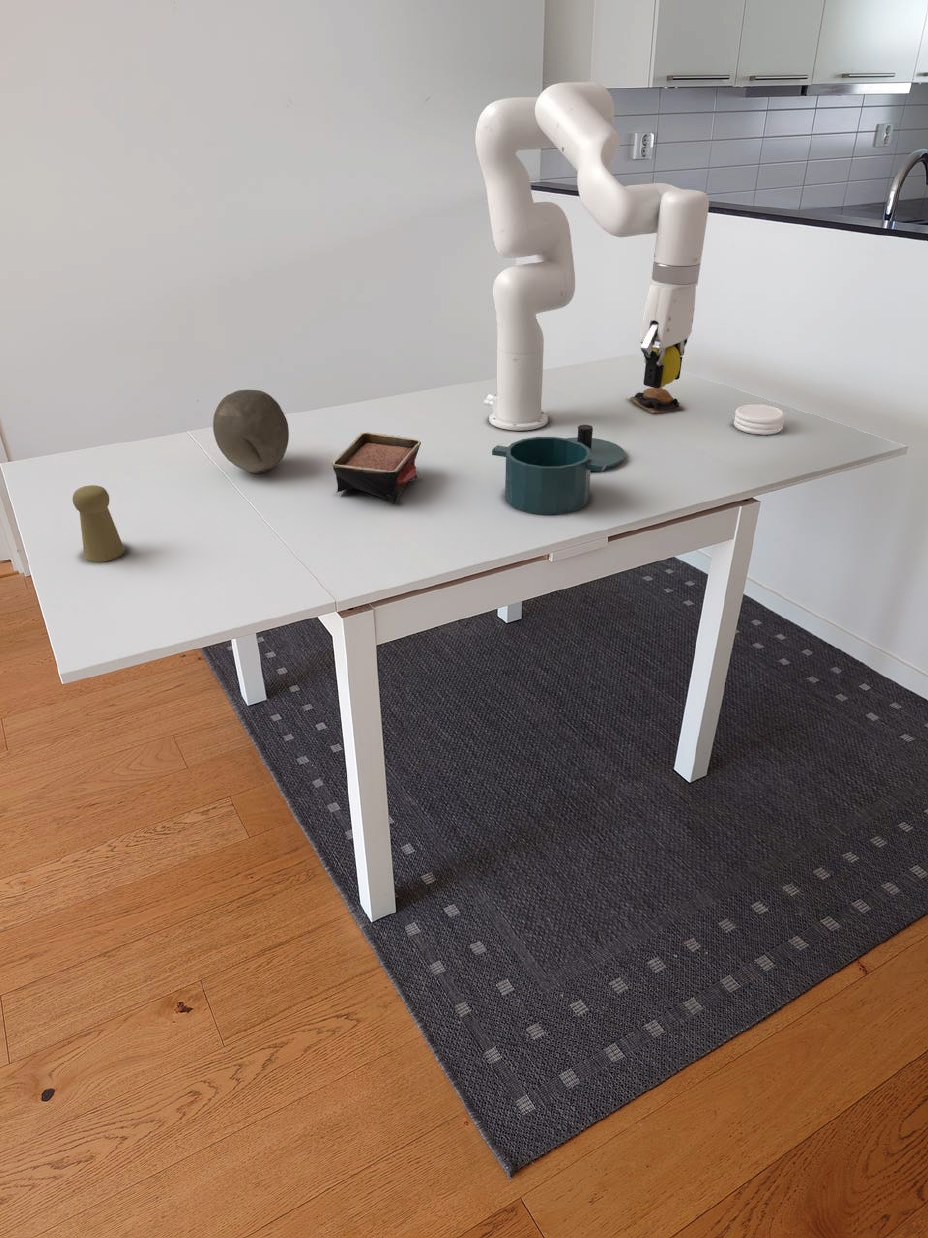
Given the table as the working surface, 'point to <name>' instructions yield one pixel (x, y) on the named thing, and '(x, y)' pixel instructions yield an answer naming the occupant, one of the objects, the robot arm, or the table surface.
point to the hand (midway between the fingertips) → (661, 381)
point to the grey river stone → (251, 430)
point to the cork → (97, 524)
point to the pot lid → (599, 447)
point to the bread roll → (656, 401)
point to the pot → (547, 474)
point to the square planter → (377, 465)
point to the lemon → (670, 364)
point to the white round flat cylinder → (759, 419)
